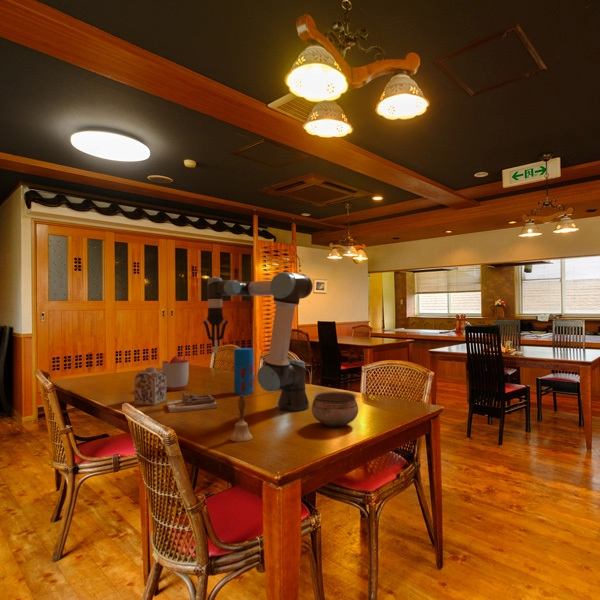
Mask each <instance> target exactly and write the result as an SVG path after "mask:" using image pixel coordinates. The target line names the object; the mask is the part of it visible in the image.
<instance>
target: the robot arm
mask: <svg viewBox="0 0 600 600" xmlns="http://www.w3.org/2000/svg"><path fill="white" fill-rule="evenodd" d="M313 284H314V283H313V281H312V279H311V278H310V277H309V276H308V275H306V274H303V273H297V272H289V271H281V272H279V273H276V275H274V277H272V279H271V280H257V281H238V280H236V279H235V280H234V279H229V280H223V279H222V278H221V277H209V278H208V279H207V307H208V308H207V317H206V319H205V320H203V321H202V324H203V325H204V328H205V333H206V335H207V339H208V340H211V347H213V354H218V353H219V350H218V347H220V340H223V339H224V335H225V331H226V328H227V327H226V326H227V324H228V322H229V321H228V320H226V319H225V318H224V316H223V308H222V307H223V296H226V297H227V296H235V297H237V296H238V297H239V296H240V297H254V296H255V297H257V296H259V297H260V296H272V297H273V299H272V300H273V302H274V304H275V310H274V317H273V324H272V330H271V337H270V344H269V351H268V352H269V353H268V356H267V357H266V358H264V363H263V366H261V367H260V368H259V369H258V370H257V374H256V375H257V377H256V378H257V381H258V384H259V386H260V387H261V388H262V390H264V391H266V392H276V391H280V395H279V398H278V401H277V409H279V410H280V411H285V412H286V411H287V412H300V411H301V412H302V411H305V410H308V409H309V408H310V402H309V399H308V395H307V392H306V370H307V369H306V362H305V361H303V360H299V359H288V356H289V350H290V343H291V338H292V337H291V335H292V329H293V321H294V317H295V316H294V315H295V309H296V308H297V306H298V305H300V300H301V299H306V298H307V297H309V296H310V295H311V293H312V292H313V287H314V286H313ZM209 324H210V326H209ZM221 324H222V326H221ZM209 327H210V328H209ZM215 329H216V330H215ZM210 330H211V331H210ZM215 337H216V338H215Z"/></svg>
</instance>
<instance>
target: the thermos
mask: <svg viewBox="0 0 600 600" xmlns="http://www.w3.org/2000/svg"><path fill="white" fill-rule="evenodd" d="M233 351H234V353H233V355H234V357H233V359H234V360H233V362H234V364H233V366H234V367H233V368H234V369H233V370H234V372H233V376H234V377H233V379H234V380H233V384H234V385H233V386H234V387H233V388H234V395H237V394H238V396H240V395H244V396H246V394H248V395H252V394H253V393H254V348H252V347H243V348H242V347H239V348H234V350H233Z"/></svg>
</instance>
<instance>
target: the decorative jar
mask: <svg viewBox="0 0 600 600" xmlns="http://www.w3.org/2000/svg"><path fill="white" fill-rule="evenodd" d="M133 384H134V387H133V390H134V391H133V400H134V401H133V403H134V405H142V406H156V405H158V404H161V403H163V402H167V390H166V374H165V373H164V372H162V369H157V368H156V367H155V366H148V367H145V370H142V371H139V372H138V373H137V374H136V376H134V383H133Z"/></svg>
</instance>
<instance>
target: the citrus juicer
mask: <svg viewBox="0 0 600 600" xmlns="http://www.w3.org/2000/svg"><path fill="white" fill-rule="evenodd" d="M189 361H190V360H189V359H181V358H179V357H178V356H177V355H175V356H173V357H172V358H171V359H170V361H168V360H161V363H162V364H161V371H162V372H164V373H165V374H166V391H169V392H174V391H181V390H182V391H183V390H185V389H186V388H187V386H188V385H187V384H188V382H189V366H190V365H189V364H190V363H189Z"/></svg>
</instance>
